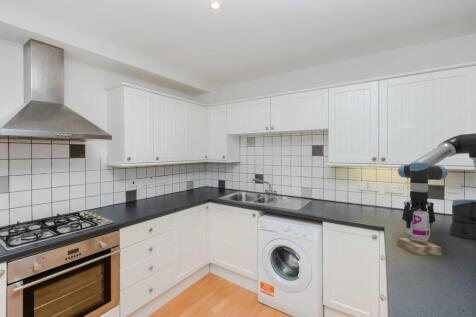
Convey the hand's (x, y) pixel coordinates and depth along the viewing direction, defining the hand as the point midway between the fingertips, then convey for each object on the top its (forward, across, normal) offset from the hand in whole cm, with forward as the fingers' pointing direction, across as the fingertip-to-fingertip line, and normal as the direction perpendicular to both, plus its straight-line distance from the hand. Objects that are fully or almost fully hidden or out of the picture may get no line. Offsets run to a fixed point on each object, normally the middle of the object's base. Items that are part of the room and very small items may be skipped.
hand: (418, 234), depth 120 cm
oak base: (+8, 0, 0) cm, 8 cm away
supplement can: (+2, 0, 0) cm, 2 cm away
